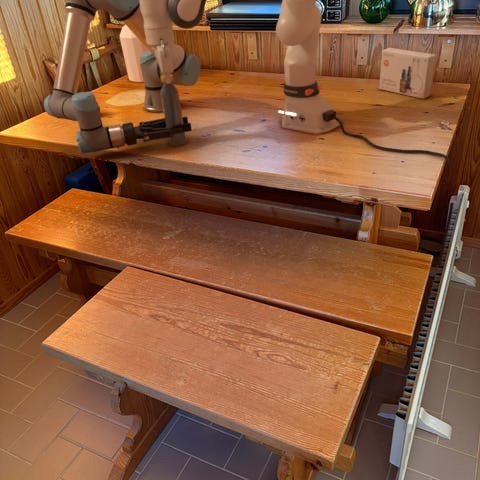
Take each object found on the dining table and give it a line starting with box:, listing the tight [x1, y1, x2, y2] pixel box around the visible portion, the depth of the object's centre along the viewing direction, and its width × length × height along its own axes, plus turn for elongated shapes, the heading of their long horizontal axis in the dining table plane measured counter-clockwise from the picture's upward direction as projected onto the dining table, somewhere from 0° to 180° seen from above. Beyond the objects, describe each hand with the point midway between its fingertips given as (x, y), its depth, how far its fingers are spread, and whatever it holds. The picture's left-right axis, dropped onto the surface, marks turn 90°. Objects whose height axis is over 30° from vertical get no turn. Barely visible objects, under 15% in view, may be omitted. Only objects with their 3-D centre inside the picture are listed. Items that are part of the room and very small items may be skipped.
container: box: [119, 23, 149, 83], centre depth 235 cm, size 21×21×28 cm
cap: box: [160, 74, 173, 82], centre depth 153 cm, size 4×4×2 cm
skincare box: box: [378, 47, 437, 100], centre depth 184 cm, size 21×6×16 cm, turn 40°
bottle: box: [160, 81, 187, 147], centre depth 159 cm, size 6×6×23 cm
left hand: (189, 123), depth 163 cm, fingers closed on bottle, 6 cm apart
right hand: (167, 80), depth 153 cm, fingers closed on cap, 4 cm apart
